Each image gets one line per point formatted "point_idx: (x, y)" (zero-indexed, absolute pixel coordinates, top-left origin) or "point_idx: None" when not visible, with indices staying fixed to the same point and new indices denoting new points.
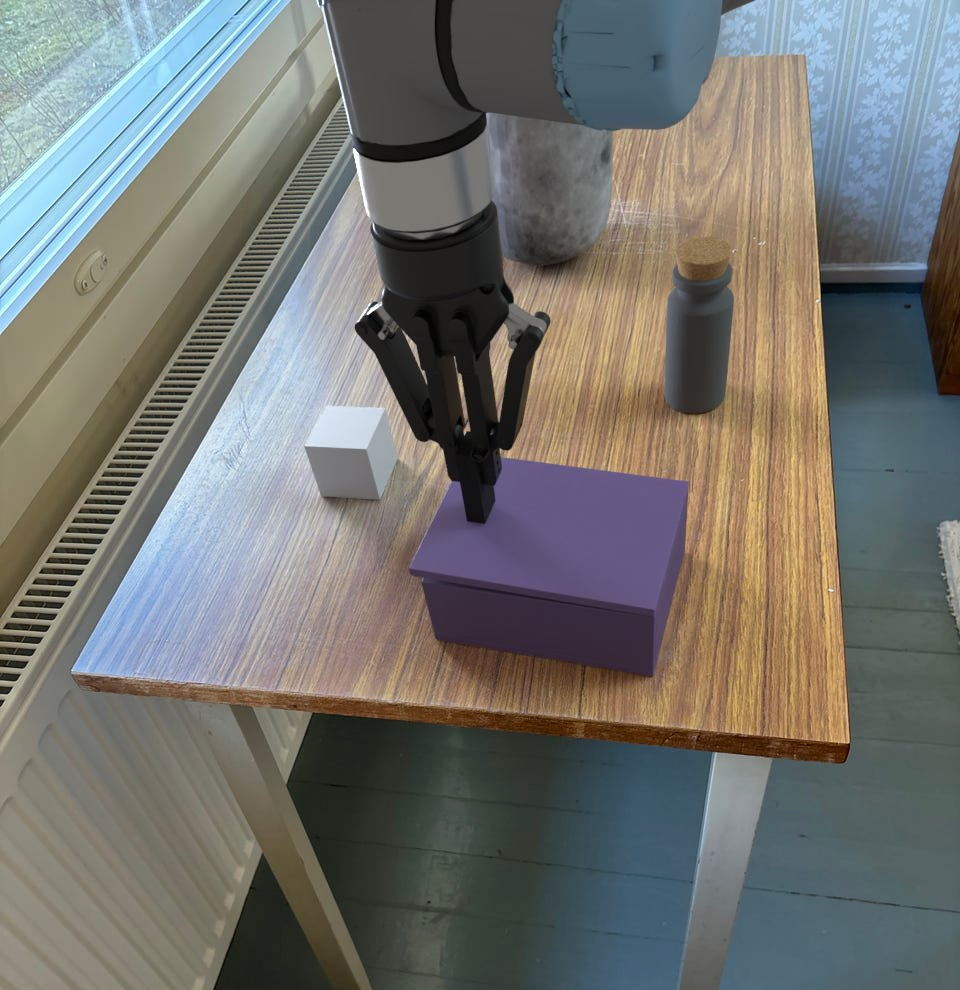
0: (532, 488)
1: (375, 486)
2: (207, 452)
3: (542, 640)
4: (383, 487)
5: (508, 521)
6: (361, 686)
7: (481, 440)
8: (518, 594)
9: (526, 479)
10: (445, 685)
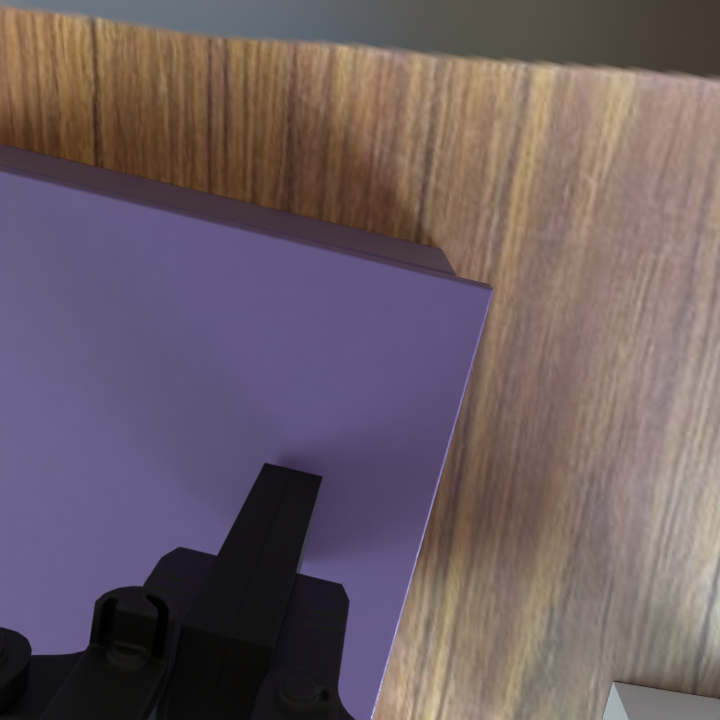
0: None
1: (628, 712)
2: None
3: (163, 187)
4: (607, 715)
5: (201, 474)
6: (613, 106)
7: (100, 688)
8: None
9: None
10: (406, 109)
